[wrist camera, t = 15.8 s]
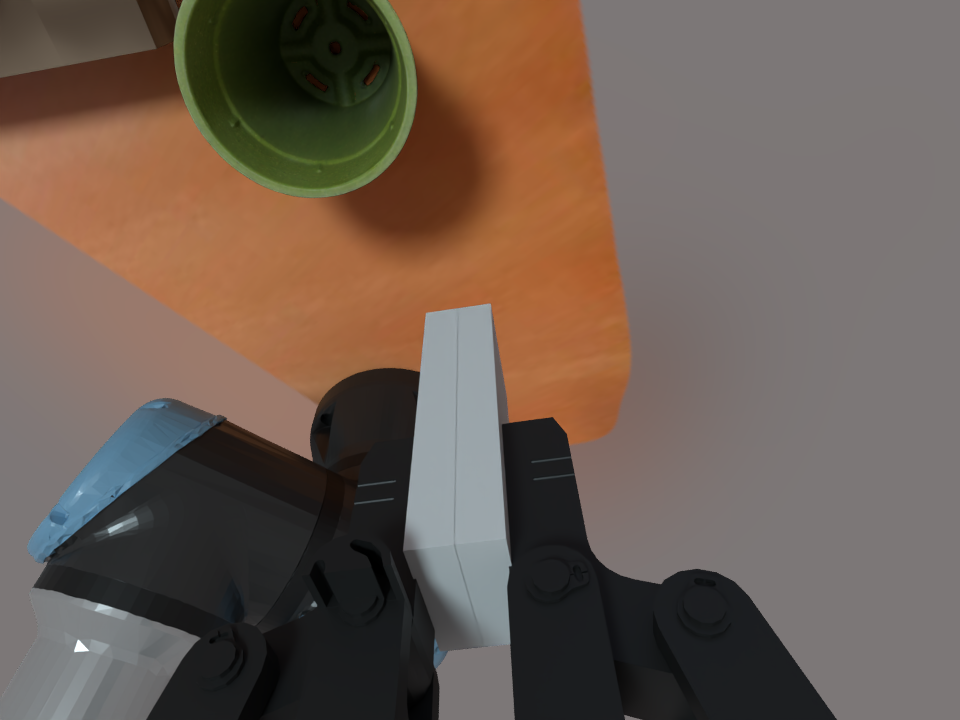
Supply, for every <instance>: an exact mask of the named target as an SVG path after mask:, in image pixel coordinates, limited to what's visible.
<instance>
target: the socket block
mask: <svg viewBox="0 0 960 720" xmlns="http://www.w3.org/2000/svg"><path fill="white" fill-rule="evenodd" d="M178 13H179V9H178V7H177V4H176V2H175V0H0V78H2V77H7V76H13V75H18V74H23V73H29V72H34V71H40V70H45V69H50V68H56V67H61V66H66V65H72V64H77V63H83V62H88V61H93V60H99V59H104V58H109V57H115V56H120V55H126V54H131V53H136V52H142V51H147V50H153V49H157V48H159V47H162V46H164V45H166V44H168V43H171V42H173V41H174V33H175V25H176V20H177V16H178Z"/></svg>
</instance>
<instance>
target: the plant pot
mask: <svg viewBox="0 0 960 720" xmlns="http://www.w3.org/2000/svg"><path fill="white" fill-rule="evenodd" d="M348 1H349V2H350V3H351V4H353V5H356V6H357V7H359V8H360V9H361V10H363V11H364V13H365V14H366V15H367V16H368V19H367V20H364V19H363V18H362V17H361V16H360V15H359V14H357V13H356V12H355V11H354V10H352V9H351V8H349V7H347V3H348ZM348 1H347V0H317V3H318V5H316V1H315V0H183V1H182V4H181V6H180V10H179V13H178V16H177V20H176V25H175V33H174V62H175V70H176V75H177V80H178V84H179V87H180V90H181V94H182V96H183V99H184V102H185V104H186V106H187V108H188V111H189V113H190V115H191V117H192V119H193V121H194V123H195V124H196V126H197V128H198V129H199V131H200V132H201V133H202V135H203V136H204V137H205V139H206V140H207V141H208V143H209V144H210V145H211V146H212V147H213V149H214V150H215V151H216V152H217V153H218V154H219V155H220V156H221V157H222V158H223V159H224V160H225V161H226V162H227V163H228V164H230V165H231V166H232V167H233V168H235V169H236V170H237V171H239V172H240V173H241V174H243V175H244V176H246V177H247V178H249V179H251V180H253V181H254V182H256V183H258V184H260V185H262V186H264V187H266V188H268V189H271V190H274V191H276V192H280V193H283V194H286V195H291V196H296V197H304V198H321V197H331V196H338V195H342V194H345V193H348V192H351V191H353V190H356V189H358V188H361V187H362V186H364V185H366V184H368V183H370V182H371V181H373V180H374V179H376V178H377V177H378V176H380V175H381V174H382V173H383V172H384V171H385V170H386V169H387V168H388V167H389V166H390V165H391V164H392V163H393V161H394V160H395V159H396V157H397V156H398V155H399V153H400V151H401V150H402V148H403V146H404V144H405V142H406V140H407V138H408V135H409V133H410V130H411V127H412V124H413V120H414V116H415V110H416V103H417V75H416V68H415V61H414V57H413V53H412V49H411V46H410V43H409V40H408V37H407V34H406V32H405V30H404V28H403V26H402V23H401V21H400V20H399V18H398V16H397V14H396V12H395V11H394V9H393V8H392V6H391V4H390V3H389V1H388V0H348ZM303 6H305V7H306V8H307V10H308V13H307V15H306V16H305V18H304V19H303V21H302V23H301V25H300V27H299V29H298V30H295V29H294V27H293V25H292V23H293V20H294V17H295V16H296V13H297V12H298V11H299V10H300V9H301V7H303ZM331 42H338V43H339V44H340V47H341V52H340V53H339V54H336V55H335V54H333V53H331V51H330V44H331ZM376 60H377V61H376ZM375 61H376V62H375ZM292 62H294V63H292ZM374 63H375V64H377V65H379V66H380V69H379V71H378V73H377V75H376V77H375V78H374V80H373V81H372V82H371V83H370V85H368V86H367V85H365V84H364V82H363V81H364V79H365V77H366V76H367V75H368V74H369V72H370V71H371V70H372V69H373V65H374ZM309 73H310V74H311V75H312V76H313V77H314V78H316V79H317V80H318V81H320V82H321V83H322V84H324V85H327V86H328V88H327V89H326V91H325V92H324V91H322V90H320V89H318V88H317V87H316V86H314V85H313V84H311V83H310V82H309V81H307V80H306V76H307V75H308V74H309ZM355 94H356V95H355ZM355 99H356V100H355Z"/></svg>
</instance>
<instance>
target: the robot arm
mask: <svg viewBox="0 0 960 720" xmlns="http://www.w3.org/2000/svg"><path fill="white" fill-rule="evenodd" d="M310 435H311V436H310V446H311V451H312V457H313V461H310V460H308V459H306V458H304V457H301V456H300V455H298V454H295V453H293V452H291V451H289V450H287V449H285V448H282V447H281V446H278V445H276V444H274V443H272V442H270V441H268V440H266V439H263V438H261V437H259V436H257V435H255V434H253V433H251V432H249V431H247V430H245V429H243V428H241V427H239V426H237V425H235V424H233V423H231V422H229V421H227V418H226V417H224V416H221V415H217V416H215V415H213V414H210V413H208V412H205V411H203V410H200V409H198V408H195V407H193V406H190V405H188V404H186V403H183V402H181V401H178V400H175V399H170V398H163V399H156V400H153V401H150V402H148V403H146V404H145V405H143V406H141V407H140V408H139V409H138V410H136V411H135V412H134V413H133V414H132V415H131V416H130V417H129V418H128V419H127V420H126V421H125V422H124V423H123V424H122V426H120V428H119V429H118V430H117V431H116V432H115V433H114V434H113V435H112V436H111V437H110V438H109V440H108V441H107V442H106V443H105V444H104V445H103V447H102V448H101V449H100V450H99V451H98V452H97V453H96V455H95V456H94V457H93V458H92V459H91V461H90V462H89V463H88V464H87V465H86V467H85V468H84V469H83V470H82V471H81V473H80V474H79V475H78V476H77V477H76V479H75V480H74V481H73V482H72V484H71V485H70V486H69V487H68V489H67V490H66V491H65V493H64V494H63V495H62V496H61V498H60V500H59V503H58V504H56V505H55V506H54V508H53V509H52V510H51V512H50V513H49V515H48V516H47V517H46V518H45V519H44V520H43V521H42V523H41V524H40V525H39V527H38V528H37V530H36V531H35V533H34V534H33V536H32V537H31V539H30V541H29V544H28V547H27V548H28V552H29V554H30V555H31V556H33V557H34V559H35V561H36V562H38V563H42V564H43V563H44V562H48V563H47V566H46V567H45V569H44V571H43V572H42V574H41V575H40V577H39V579H38V580H37V582H36V583H35V585H34V587H33V588H32V590H31V591H30V593H29V596H30V600H31V603H32V607H33V610H34V614H35V617H36V620H37V624H38V636H37V638H36V640H35V641H34V643H33V645H32V646H31V648H30V650H29V651H28V653H27V655H26V656H25V658H24V660H23V662H22V663H21V665H20V666H19V668H18V670H17V672H16V673H15V675H14V677H13V678H12V680H11V682H10V684H9V685H8V687H7V689H6V690H5V692H4V693H3V695H2V697H1V699H0V720H438V718H439V683H438V676H437V672H436V668H437V667H438V666H439V665H440V664H441V662H442V661H443V659H444V658H445V656H446V654H447V652H448V651H450V650H460V649H469V648H478V647H488V646H497V645H507V644H510V646H511V663H512V679H513V697H514V713H515V720H625V717H624V715H627V716H630V717H634V718H639V719H642V720H837V719H836V718H835V716H834V715H833V714H832V712H831V711H830V709H829V708H828V707H827V705H826V704H825V702H824V701H823V700H822V698H821V697H820V695H819V694H818V693H817V691H816V690H815V689H814V687H813V686H812V684H811V683H810V681H809V680H808V679H807V677H806V676H805V675H804V673H803V672H802V670H801V669H800V667H799V666H798V665H797V663H796V662H795V660H794V659H793V658H792V656H791V655H790V653H789V652H788V651H787V649H786V648H785V646H784V645H783V644H782V642H781V641H780V639H779V638H778V636H777V635H776V634H775V633H774V631H773V629H772V628H771V627H770V626H769V624H768V622H767V621H766V620H765V618H764V617H763V616H762V614H761V613H760V611H759V610H758V608H757V607H756V606H755V604H754V603H753V601H752V600H751V599H750V597H749V596H748V595H747V594H746V593H745V592H744V591H743V590H742V589H741V588H740V587H739V586H738V585H737V584H736V583H735V582H734V581H732V580H730V579H728V578H726V577H724V576H722V575H720V574H719V573H717V572H712V571H706V570H700V569H693V570H687V571H680V572H677V573H676V574H674V575H672V576H670V577H669V578H667V579H665V580H664V582H663V583H662V584H656V583H651V582H645V581H640V580H635V579H631V578H628V577H624V576H620V575H619V574H617V573H615V572H613V571H611V570H609V569H608V568H606V567H605V566H604V565H603V564H602V563H601V562H599V561H598V559H597V558H596V557H595V555H594V554H593V552H592V551H591V548H590V546H589V543H588V540H587V535H586V531H585V525H584V520H583V515H582V509H581V504H580V499H579V494H578V489H577V484H576V479H575V474H574V469H573V464H572V459H571V453H570V448H569V443H568V438H567V434H566V433H565V431H564V430H563V429H562V428H561V427H560V425H559V424H558V423H557V422H556V421H555V420H554V418H553V417H551V418H543V419H536V420H528V421H521V422H513V423H509V418H508V407H507V395H506V390H505V384H504V378H503V372H502V366H501V361H500V355H499V349H498V343H497V338H496V332H495V326H494V320H493V315H492V309H491V304H484V305H477V306H471V307H464V308H457V309H450V310H443V311H437V312H430V313H426V318H425V329H424V339H423V349H422V360H421V370H420V372H416V371H411V370H406V369H396V368H383V369H374V370H368V371H364V372H360V373H357V374H355V375H352V376H350V377H348V378H346V379H344V380H342V381H340V382H339V383H337V384H336V385H335V386H333V387H332V388H331V389H330V390H329V391H328V392H327V393H326V394H325V396H324V397H323V398H322V400H321V402H320V403H319V405H318V408H317V410H316V413H315V417H314V420H313V424H312V428H311V434H310Z"/></svg>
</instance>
